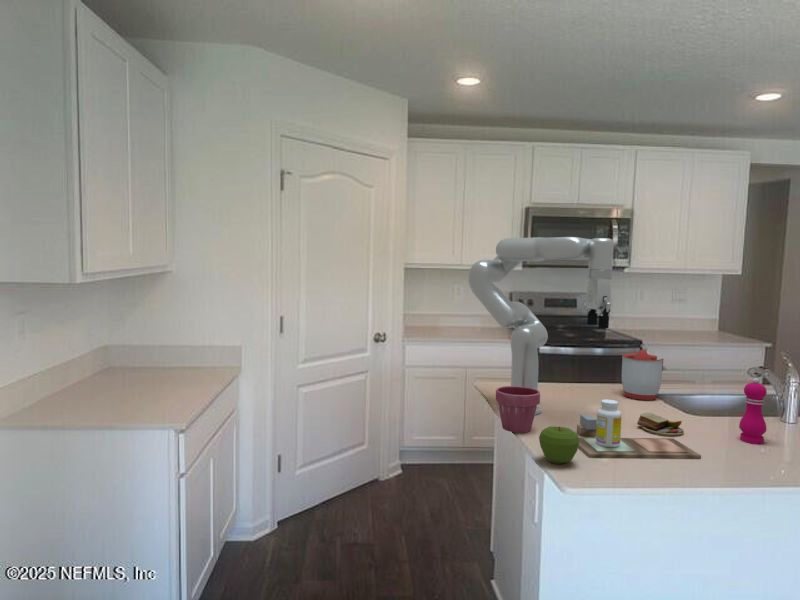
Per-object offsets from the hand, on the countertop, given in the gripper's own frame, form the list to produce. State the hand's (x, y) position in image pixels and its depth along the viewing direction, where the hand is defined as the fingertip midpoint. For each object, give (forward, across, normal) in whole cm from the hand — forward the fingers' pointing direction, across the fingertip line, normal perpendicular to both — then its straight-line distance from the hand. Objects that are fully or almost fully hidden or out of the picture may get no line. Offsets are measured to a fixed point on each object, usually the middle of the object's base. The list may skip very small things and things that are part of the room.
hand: (597, 326), depth 189 cm
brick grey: (+31, +13, -7) cm, 34 cm away
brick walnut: (+34, +13, -7) cm, 36 cm away
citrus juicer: (+34, -38, +36) cm, 62 cm away
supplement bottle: (+32, +26, -6) cm, 42 cm away
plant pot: (+34, +7, -28) cm, 44 cm away
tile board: (+33, +26, +2) cm, 42 cm away
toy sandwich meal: (+34, +7, +20) cm, 40 cm away
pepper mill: (+34, +17, +44) cm, 58 cm away
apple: (+34, +37, -24) cm, 55 cm away
